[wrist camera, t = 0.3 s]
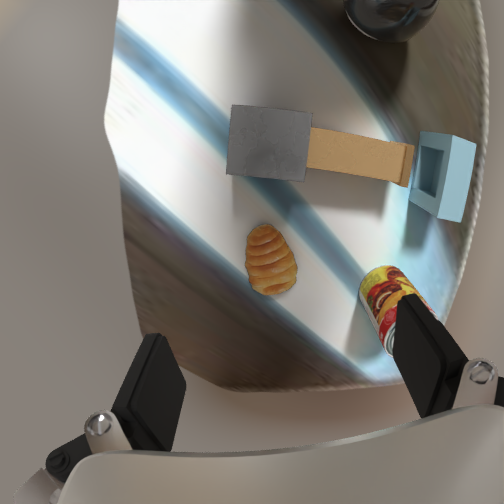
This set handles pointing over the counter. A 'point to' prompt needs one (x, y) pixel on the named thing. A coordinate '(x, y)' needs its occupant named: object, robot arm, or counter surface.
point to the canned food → (385, 300)
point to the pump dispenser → (390, 17)
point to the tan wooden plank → (360, 156)
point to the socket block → (442, 174)
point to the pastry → (269, 261)
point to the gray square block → (268, 142)
